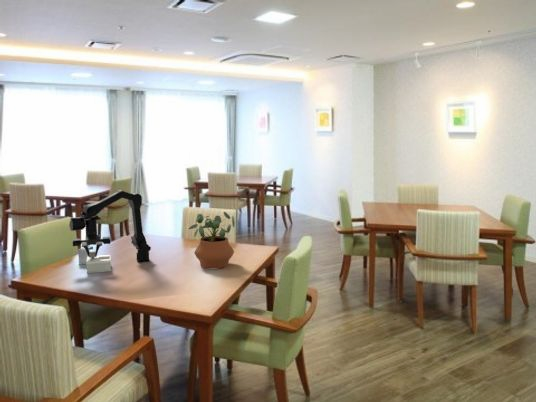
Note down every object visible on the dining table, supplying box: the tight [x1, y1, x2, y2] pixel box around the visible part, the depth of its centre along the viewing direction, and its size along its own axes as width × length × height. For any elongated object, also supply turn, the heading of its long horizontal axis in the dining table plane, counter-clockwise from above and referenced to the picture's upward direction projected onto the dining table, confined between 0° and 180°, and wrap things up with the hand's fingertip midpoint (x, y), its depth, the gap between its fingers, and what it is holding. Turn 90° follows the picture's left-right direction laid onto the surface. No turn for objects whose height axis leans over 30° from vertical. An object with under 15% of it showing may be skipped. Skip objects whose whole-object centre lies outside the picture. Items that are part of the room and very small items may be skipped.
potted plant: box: [188, 211, 235, 269], centre depth 251 cm, size 23×28×30 cm
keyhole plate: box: [85, 254, 112, 274], centre depth 242 cm, size 12×12×6 cm
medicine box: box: [77, 245, 94, 265], centre depth 254 cm, size 8×4×9 cm, turn 168°
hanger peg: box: [89, 248, 96, 259], centre depth 240 cm, size 4×6×8 cm
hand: (92, 257), depth 240 cm, fingers closed on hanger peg, 3 cm apart
